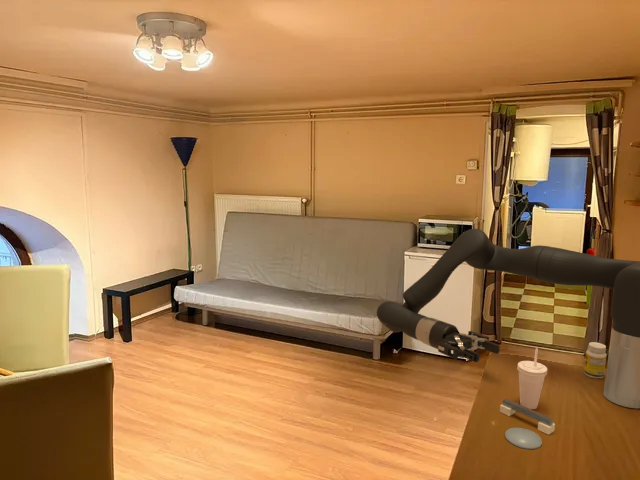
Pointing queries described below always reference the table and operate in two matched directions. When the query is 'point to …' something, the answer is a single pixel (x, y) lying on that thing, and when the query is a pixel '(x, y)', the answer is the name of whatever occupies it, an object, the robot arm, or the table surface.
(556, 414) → the table surface
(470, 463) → the table surface
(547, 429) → the hurdle stand
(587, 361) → the supplement bottle
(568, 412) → the table surface
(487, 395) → the table surface
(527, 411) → the steel bar
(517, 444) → the pad
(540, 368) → the smoothie
